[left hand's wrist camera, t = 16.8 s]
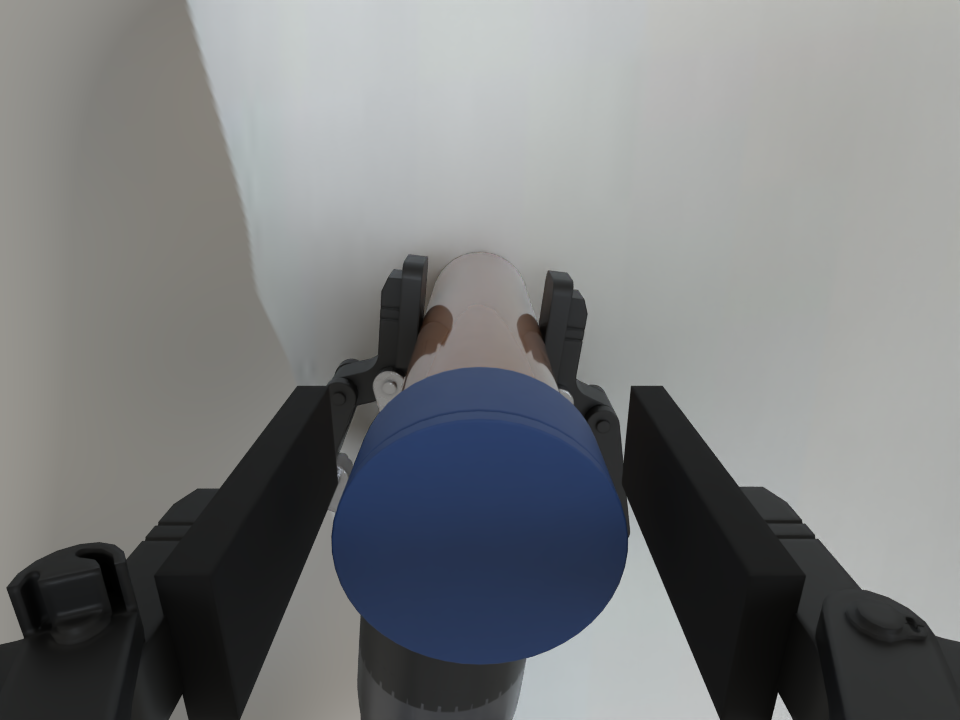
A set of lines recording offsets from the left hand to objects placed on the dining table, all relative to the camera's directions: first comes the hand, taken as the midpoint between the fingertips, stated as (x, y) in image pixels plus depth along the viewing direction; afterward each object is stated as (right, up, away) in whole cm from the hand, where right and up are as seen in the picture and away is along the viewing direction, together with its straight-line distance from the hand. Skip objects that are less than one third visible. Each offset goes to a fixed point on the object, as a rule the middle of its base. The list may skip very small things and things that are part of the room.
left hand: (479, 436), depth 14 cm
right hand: (0, +5, +6) cm, 8 cm away
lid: (0, -1, -4) cm, 4 cm away
